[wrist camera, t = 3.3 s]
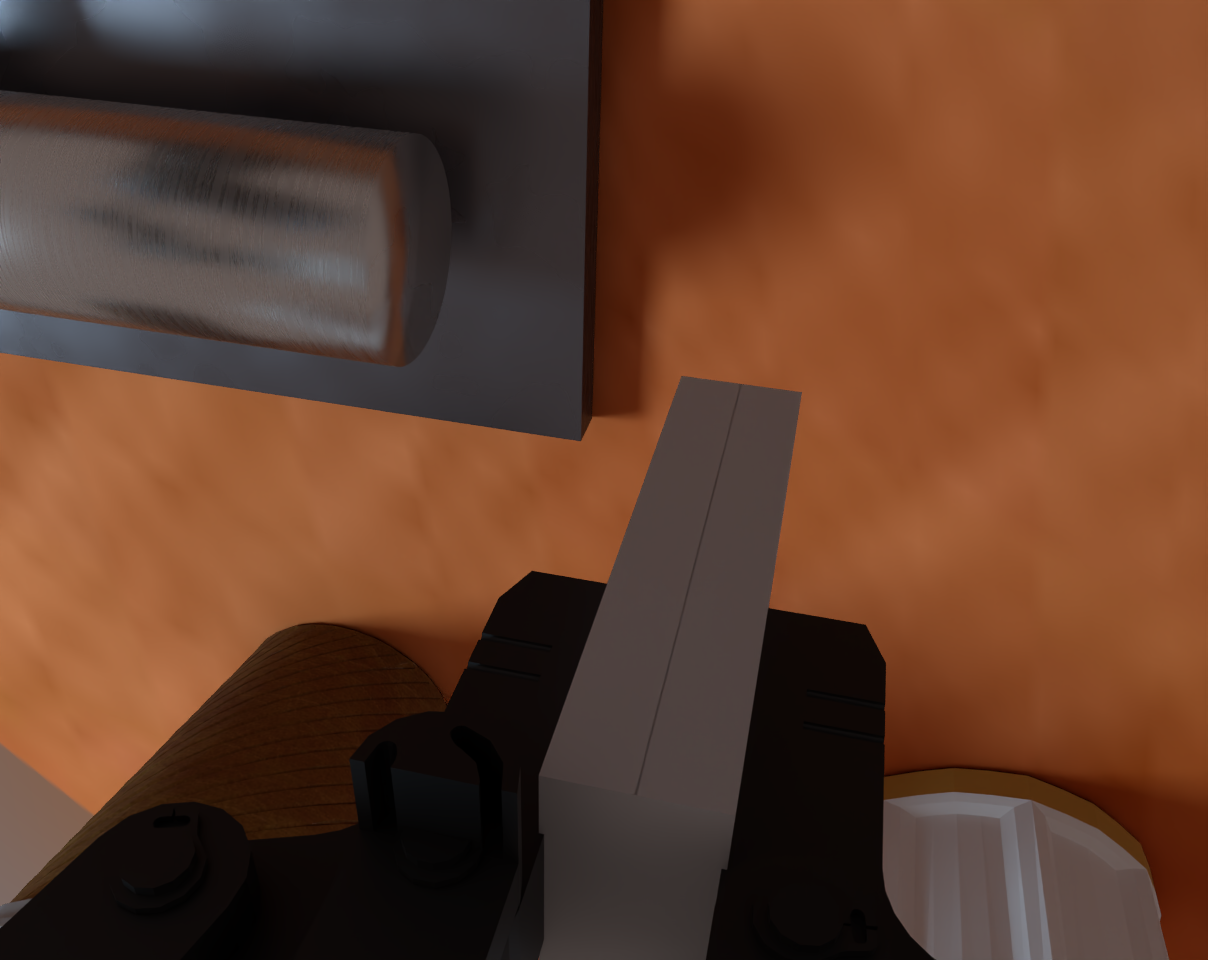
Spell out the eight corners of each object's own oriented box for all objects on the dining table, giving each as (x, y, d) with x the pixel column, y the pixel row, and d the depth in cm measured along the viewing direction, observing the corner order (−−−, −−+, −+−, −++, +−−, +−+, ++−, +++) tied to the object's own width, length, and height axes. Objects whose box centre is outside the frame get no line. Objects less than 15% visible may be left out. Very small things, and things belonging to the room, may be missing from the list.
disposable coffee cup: (571, 770, 31) (417, 1236, 21) (347, 842, 35) (135, 1251, 26) (356, 527, 28) (58, 947, 18) (140, 640, 32) (-191, 1024, 23)
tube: (448, 95, 19) (346, 170, 16) (459, 313, 22) (373, 420, 18) (-291, 22, 22) (-514, 73, 19) (-208, 223, 25) (-391, 301, 21)
